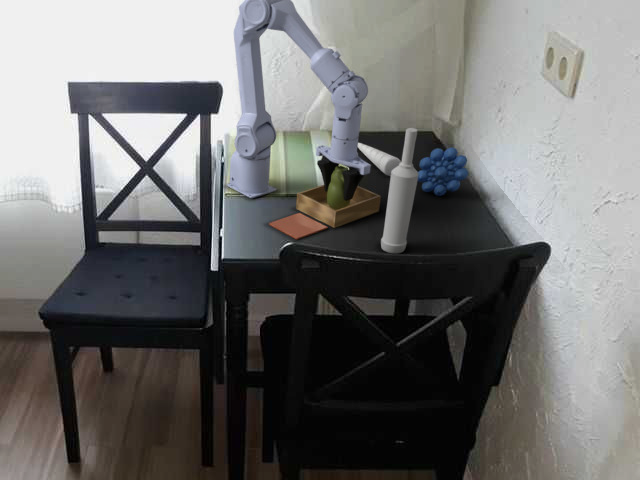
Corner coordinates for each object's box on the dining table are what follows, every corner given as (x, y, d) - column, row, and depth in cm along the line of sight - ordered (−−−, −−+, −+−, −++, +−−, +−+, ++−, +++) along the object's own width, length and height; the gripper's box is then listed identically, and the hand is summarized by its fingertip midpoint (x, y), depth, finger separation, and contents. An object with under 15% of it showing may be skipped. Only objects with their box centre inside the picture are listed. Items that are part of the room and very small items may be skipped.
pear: (324, 203, 172) (328, 162, 167) (347, 204, 172) (352, 162, 167) (326, 213, 168) (331, 171, 162) (350, 214, 168) (355, 172, 162)
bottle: (377, 242, 157) (394, 125, 143) (401, 241, 157) (420, 125, 143) (384, 254, 152) (402, 134, 139) (408, 253, 153) (429, 134, 139)
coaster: (268, 224, 164) (268, 223, 163) (299, 214, 168) (299, 212, 168) (296, 239, 158) (296, 238, 157) (327, 228, 162) (327, 226, 162)
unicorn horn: (367, 143, 207) (369, 126, 204) (400, 176, 187) (403, 158, 184) (351, 144, 206) (353, 127, 203) (382, 177, 186) (385, 159, 184)
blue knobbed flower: (467, 194, 178) (477, 145, 171) (459, 204, 173) (469, 154, 167) (419, 184, 183) (427, 136, 176) (410, 193, 178) (418, 145, 172)
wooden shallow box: (295, 208, 171) (297, 193, 168) (339, 193, 178) (341, 178, 176) (334, 227, 162) (335, 211, 160) (378, 211, 170) (381, 195, 168)
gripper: (383, 141, 158) (375, 201, 165) (334, 123, 167) (328, 180, 175) (360, 148, 154) (352, 209, 162) (311, 129, 164) (306, 187, 171)
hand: (338, 194), depth 168 cm, fingers closed on pear, 5 cm apart
